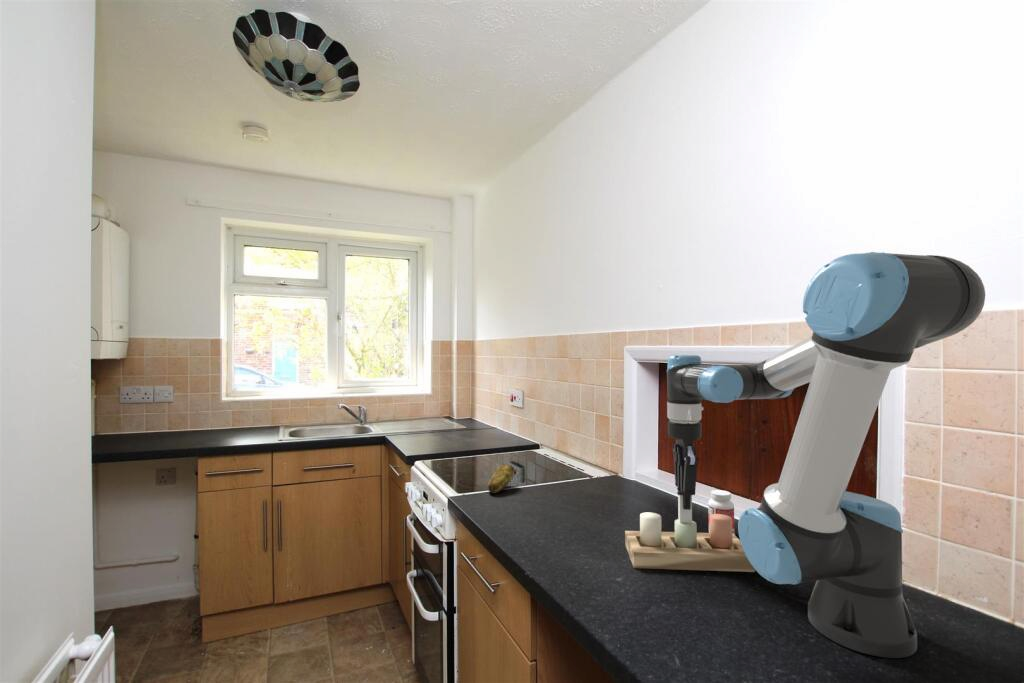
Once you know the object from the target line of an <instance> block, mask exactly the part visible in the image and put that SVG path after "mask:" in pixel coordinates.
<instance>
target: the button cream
mask: <svg viewBox="0 0 1024 683" xmlns="http://www.w3.org/2000/svg"><path fill="white" fill-rule="evenodd" d="M639 531H640V541H641V543H643V544H645V545H649V546H658V545H660V544H661V543H662V540H661V532H662V516H661V515H660V514H659V513H657V512H650V511H649V512H642V513H641V512H640V514H639Z"/></svg>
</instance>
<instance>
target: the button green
mask: <svg viewBox="0 0 1024 683" xmlns="http://www.w3.org/2000/svg"><path fill="white" fill-rule="evenodd" d="M697 528H698V527H697V522H695V521H694V520H692V523H681V522H679V520H678V518H677V519H674V532H675V547H676V548H697V533H698V531H697Z"/></svg>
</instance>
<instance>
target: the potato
mask: <svg viewBox="0 0 1024 683" xmlns="http://www.w3.org/2000/svg"><path fill="white" fill-rule="evenodd" d="M514 476H515V469H514V467H513V466H512V465H509V464H501V465H500V466H498V467H497V469H496V470H495V471H494V473H493V474H492V476H491V478H490V479H489V481H488V482H487V490H488V492H489V493H491V492H492V493H491V494H493V493H494V494H497V493H499V492H500V491H502V490H504V488H506V487H507V486H508V485H509V484H510V482H511V481H513V479H514Z"/></svg>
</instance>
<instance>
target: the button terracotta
mask: <svg viewBox="0 0 1024 683" xmlns="http://www.w3.org/2000/svg"><path fill="white" fill-rule="evenodd" d="M710 543H711V544H712V545H714V546H716V547H720V548H730V547H732V546H733V539H732V518H731V517H729V516H727V515H723V514H712V515H710Z"/></svg>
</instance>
